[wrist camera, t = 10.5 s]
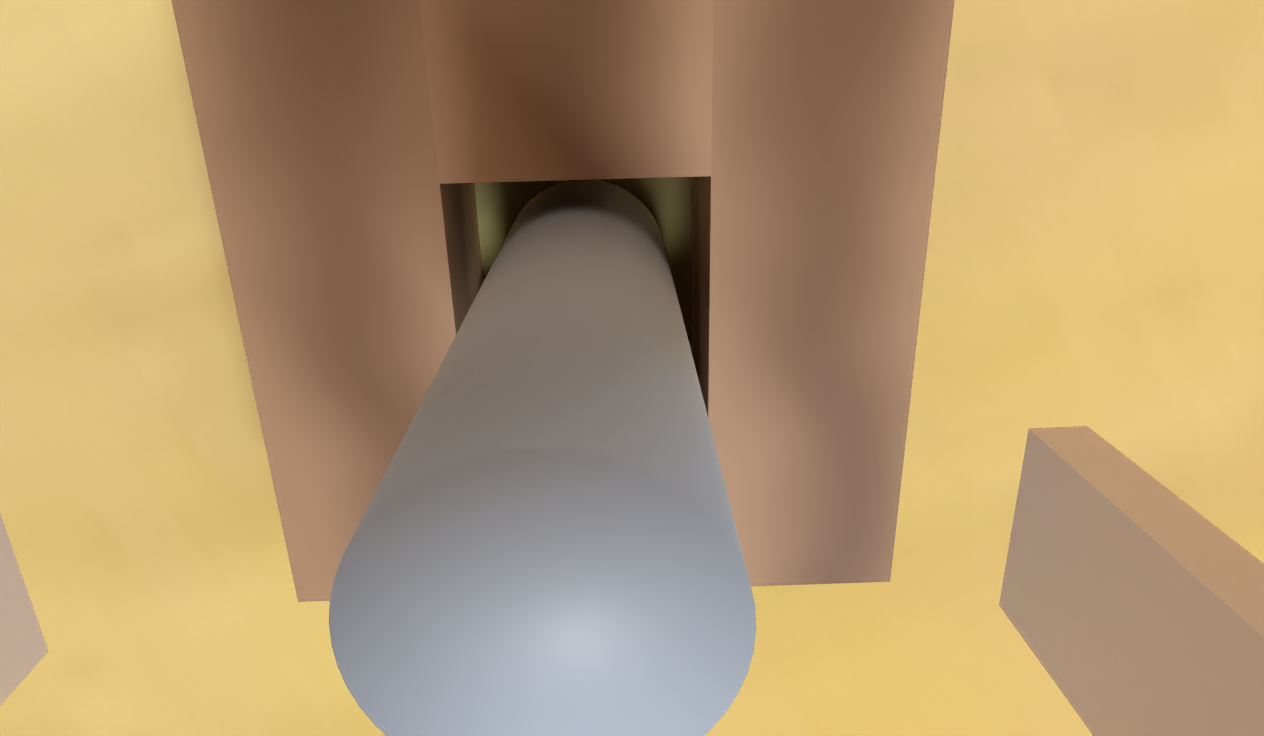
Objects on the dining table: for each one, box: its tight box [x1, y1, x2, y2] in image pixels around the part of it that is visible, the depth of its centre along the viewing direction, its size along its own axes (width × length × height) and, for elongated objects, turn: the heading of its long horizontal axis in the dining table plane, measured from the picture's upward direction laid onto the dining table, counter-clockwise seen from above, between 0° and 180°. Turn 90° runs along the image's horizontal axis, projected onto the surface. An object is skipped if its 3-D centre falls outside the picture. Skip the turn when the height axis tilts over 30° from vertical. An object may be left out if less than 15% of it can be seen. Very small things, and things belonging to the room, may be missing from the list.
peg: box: [329, 179, 756, 736], centre depth 16 cm, size 4×4×16 cm
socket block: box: [172, 0, 954, 602], centre depth 22 cm, size 16×16×4 cm
